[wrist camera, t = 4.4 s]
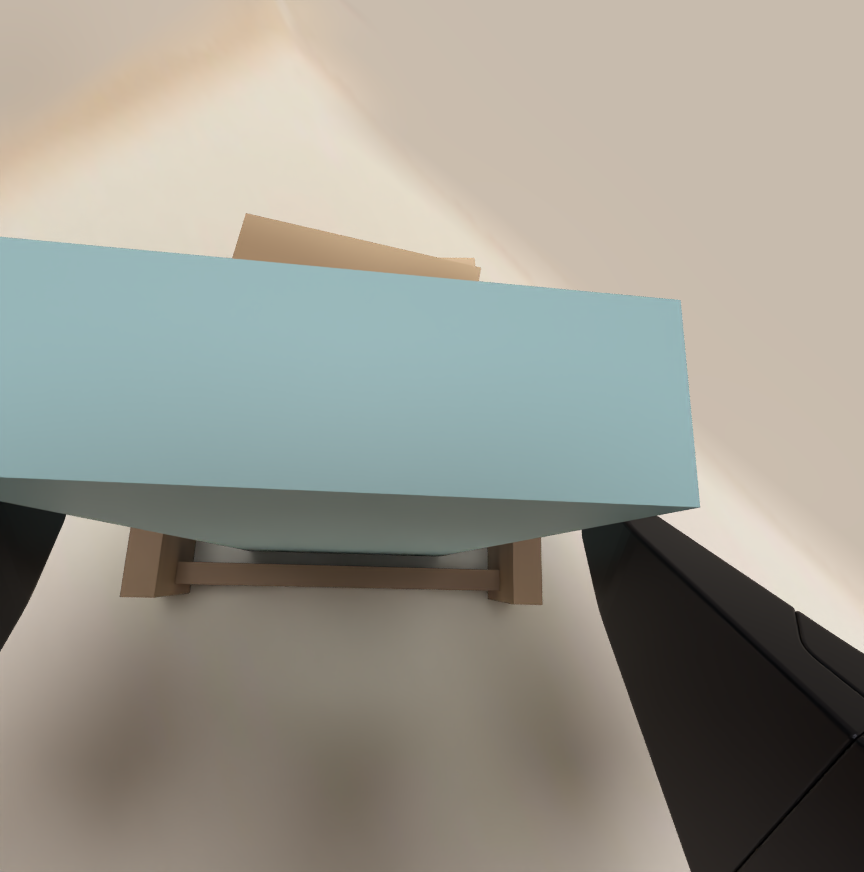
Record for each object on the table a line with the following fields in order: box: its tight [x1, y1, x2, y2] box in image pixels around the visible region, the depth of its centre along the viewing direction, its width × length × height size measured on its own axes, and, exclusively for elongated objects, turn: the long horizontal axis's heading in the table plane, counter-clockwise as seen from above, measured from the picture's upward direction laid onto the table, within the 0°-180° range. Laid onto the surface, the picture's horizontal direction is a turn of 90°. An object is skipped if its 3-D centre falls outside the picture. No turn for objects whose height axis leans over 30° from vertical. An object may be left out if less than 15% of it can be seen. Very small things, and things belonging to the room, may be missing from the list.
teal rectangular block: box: [0, 237, 700, 556], centre depth 11 cm, size 2×6×14 cm, turn 89°
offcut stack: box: [232, 213, 481, 281], centre depth 16 cm, size 5×7×6 cm
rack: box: [120, 527, 542, 605], centre depth 16 cm, size 4×11×3 cm, turn 89°
